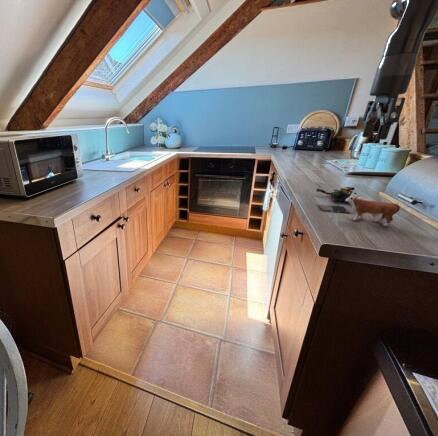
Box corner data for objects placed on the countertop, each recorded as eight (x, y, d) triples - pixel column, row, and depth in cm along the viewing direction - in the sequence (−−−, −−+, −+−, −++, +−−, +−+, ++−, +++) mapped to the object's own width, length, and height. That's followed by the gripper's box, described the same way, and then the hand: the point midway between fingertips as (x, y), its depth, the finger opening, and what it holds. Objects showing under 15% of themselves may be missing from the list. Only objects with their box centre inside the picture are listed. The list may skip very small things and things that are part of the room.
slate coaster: (342, 207, 92) (342, 206, 92) (349, 213, 87) (349, 212, 87) (318, 205, 95) (318, 204, 95) (323, 210, 89) (323, 209, 89)
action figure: (348, 194, 108) (377, 205, 94) (314, 194, 108) (338, 205, 94) (352, 182, 105) (382, 191, 91) (317, 182, 106) (342, 191, 92)
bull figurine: (341, 214, 86) (348, 192, 83) (393, 224, 77) (403, 200, 74) (338, 217, 83) (345, 194, 80) (392, 228, 74) (402, 203, 71)
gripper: (429, 69, 58) (403, 140, 64) (395, 77, 71) (376, 136, 77) (390, 72, 60) (369, 140, 67) (363, 79, 73) (348, 136, 79)
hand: (373, 138), depth 72 cm, fingers open, 8 cm apart
